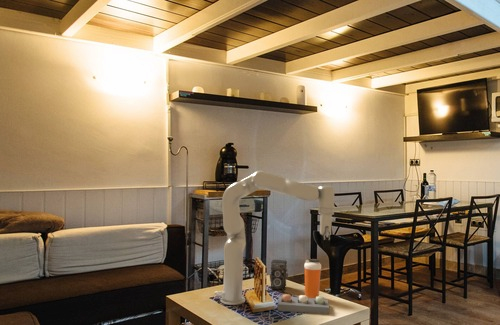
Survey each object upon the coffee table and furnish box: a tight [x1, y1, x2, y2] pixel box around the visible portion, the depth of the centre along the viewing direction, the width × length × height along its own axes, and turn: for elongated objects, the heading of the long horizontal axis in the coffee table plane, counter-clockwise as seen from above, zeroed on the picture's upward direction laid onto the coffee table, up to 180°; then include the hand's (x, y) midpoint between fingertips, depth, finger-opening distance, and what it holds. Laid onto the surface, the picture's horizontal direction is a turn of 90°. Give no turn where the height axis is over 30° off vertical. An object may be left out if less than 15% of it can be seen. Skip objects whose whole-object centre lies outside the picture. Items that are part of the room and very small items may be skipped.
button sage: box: [316, 295, 325, 305], centre depth 197 cm, size 4×4×3 cm
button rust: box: [282, 293, 292, 303], centre depth 199 cm, size 4×4×3 cm
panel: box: [277, 295, 330, 315], centre depth 198 cm, size 24×12×3 cm, turn 84°
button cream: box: [298, 294, 307, 304], centre depth 198 cm, size 4×4×3 cm
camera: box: [269, 259, 289, 291], centre depth 227 cm, size 10×10×15 cm
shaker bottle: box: [303, 257, 322, 298], centre depth 214 cm, size 9×9×20 cm
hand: (325, 246), depth 200 cm, fingers open, 9 cm apart
